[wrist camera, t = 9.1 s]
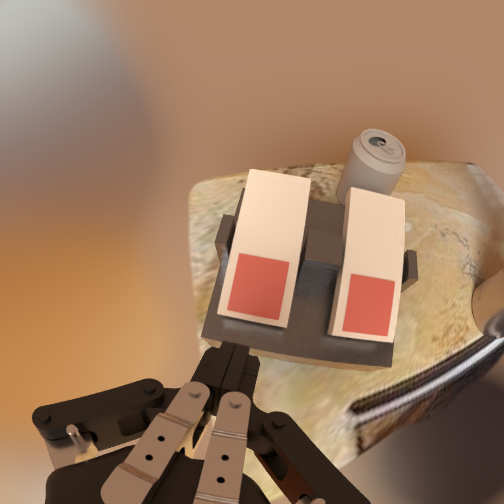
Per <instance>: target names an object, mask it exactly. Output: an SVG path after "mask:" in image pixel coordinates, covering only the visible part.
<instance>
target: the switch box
mask: <svg viewBox="0 0 504 504" xmlns="http://www.w3.org/2000/svg"><path fill="white" fill-rule="evenodd" d="M244 192H245V188H243V190H242V193H241V196H240V200H239V203H238V206H237V210H236V213H235V216H231V215H225V214H223V217H222V221H221V224H220V227H219V230H218V233H217V236H216V240H215V246H216V250H217V253H218V257H219V261H220V264H221V265H220V268H219V272H218V275H217V279H216V282H215V286H214V290H213V293H212V297H211V301H210V304H209V308H208V312H207V315H206V319H205V323H204V327H203V331H202V334H201V337H202V338H203V339H204V340H205V341H206V342H207V343H208V344H210V345H211V346H215V347H220V346H221V344H222V341H223V340H225V341H230V342H234V343H236V345H237V343H239V344H244V345H248V346H250V351H249V354H251V355H256V356H262V357H267V358H272V359H278V360H284V361H290V362H296V363H302V364H309V365H316V366H324V367H332V368H340V369H350V370H360V371H374V370H379V369H385V368H390V367H391V366H392V356H393V346H394V340H393V343H392V342H382V341H373V340H364V339H356V338H349V337H341V336H334V335H330V334H327V333H328V328H329V323H330V317H331V312H332V306H333V300H334V294H335V287H336V281H337V274H338V270H339V268H340V267H341V261H342V245H343V236H342V234H343V224H344V214H345V206H342V205H337V204H332V203H327V202H322V201H317V200H312V199H308V206H307V213H306V220H305V227H304V233H303V240H302V246H301V252H300V258H299V264H298V270H297V276H296V281H295V287H294V293H293V298H292V303H291V309H290V314H289V319H288V324H287V328H285V327H280V326H274V325H269V324H264V323H258V322H253V321H248V320H244V319H239V318H234V317H229V316H225V315H220V314H217V311H218V307H219V302H220V297H221V293H222V288H223V284H224V279H225V275H226V270H227V266H228V261H229V257H230V252H231V248H232V243H233V239H234V235H235V230H236V226H237V222H238V217H239V213H240V209H241V205H242V200H243V196H244ZM417 280H418V270H417V255H416V251H412V250H407V251H406V252H405V253H404V258H403V272H402V283H401V292H400V293H402V292H403V291H404V290H406V289H407V288H408V287H410V286H411V285H412V284H414V283H415V282H416V281H417Z"/></svg>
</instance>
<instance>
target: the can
mask: <svg viewBox="0 0 504 504" xmlns="http://www.w3.org/2000/svg"><path fill="white" fill-rule="evenodd" d="M405 156H406V151H405V148H404V146H403V145H402V144H401V142H400V141H399V140H398V139H397V138H396V137H394V136H393V135H391V134H389V133H388V132H385V131H382V130H379V129H367V130H365V131H363V132H362V133H361V135H359V136H357V137H356V138H355V139H354V141H353V143H352V146H351V149H350V153H349V156H348V159H347V162H346V164H345V167H344V170H343V173H342V176H341V179H340V182H339V185H338V187H337V197H338V200H339V202H340V203H341V205H342V206H345V202H346V194H347V193H348V191H349V189H350V188H351V187H354V188H359V189H363V190H367V191H371V192H375V193H379V194H383V195H387V196H390V194H391V192H392V190H393V189H394V187H395V185H396V184H397V182H398V180H399V178H400V176H401V175H402V173H403V171H404V169H405V166H406V159H405Z"/></svg>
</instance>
